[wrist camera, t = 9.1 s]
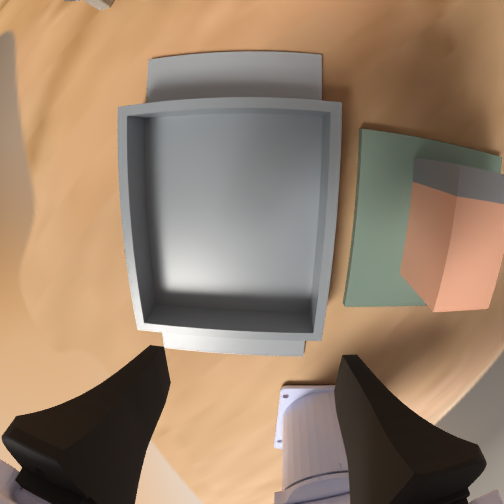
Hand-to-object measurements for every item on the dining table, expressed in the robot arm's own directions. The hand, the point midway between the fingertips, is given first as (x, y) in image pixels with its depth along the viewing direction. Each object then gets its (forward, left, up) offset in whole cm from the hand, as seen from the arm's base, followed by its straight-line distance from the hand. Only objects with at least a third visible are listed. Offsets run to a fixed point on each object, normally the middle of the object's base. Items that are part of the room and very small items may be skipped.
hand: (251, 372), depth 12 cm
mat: (+4, -12, -10) cm, 16 cm away
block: (+5, -12, -9) cm, 16 cm away
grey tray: (+4, +2, -10) cm, 11 cm away
